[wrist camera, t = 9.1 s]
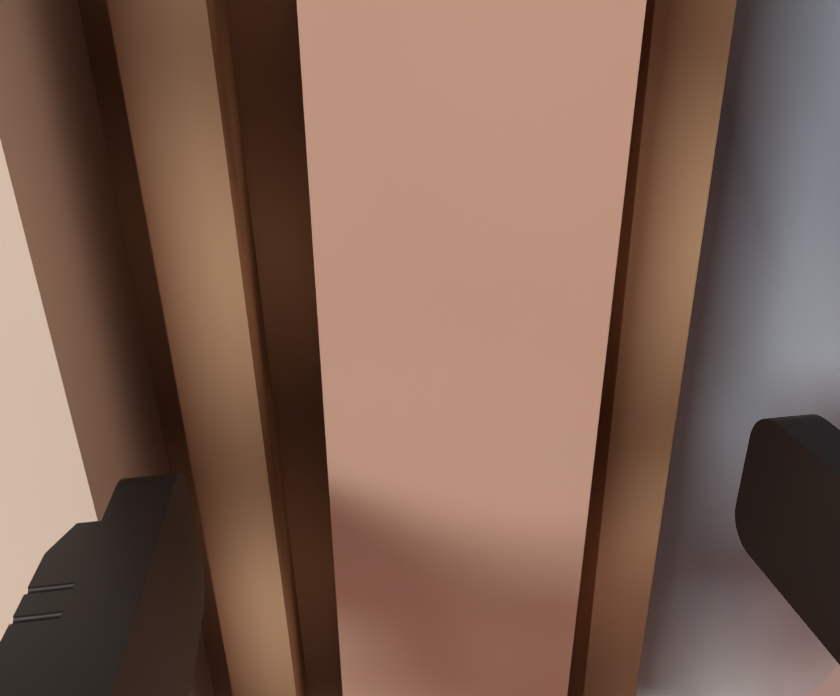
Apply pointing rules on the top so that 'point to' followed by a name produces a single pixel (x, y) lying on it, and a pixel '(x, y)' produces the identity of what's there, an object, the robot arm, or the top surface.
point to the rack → (298, 322)
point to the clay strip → (463, 322)
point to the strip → (63, 306)
